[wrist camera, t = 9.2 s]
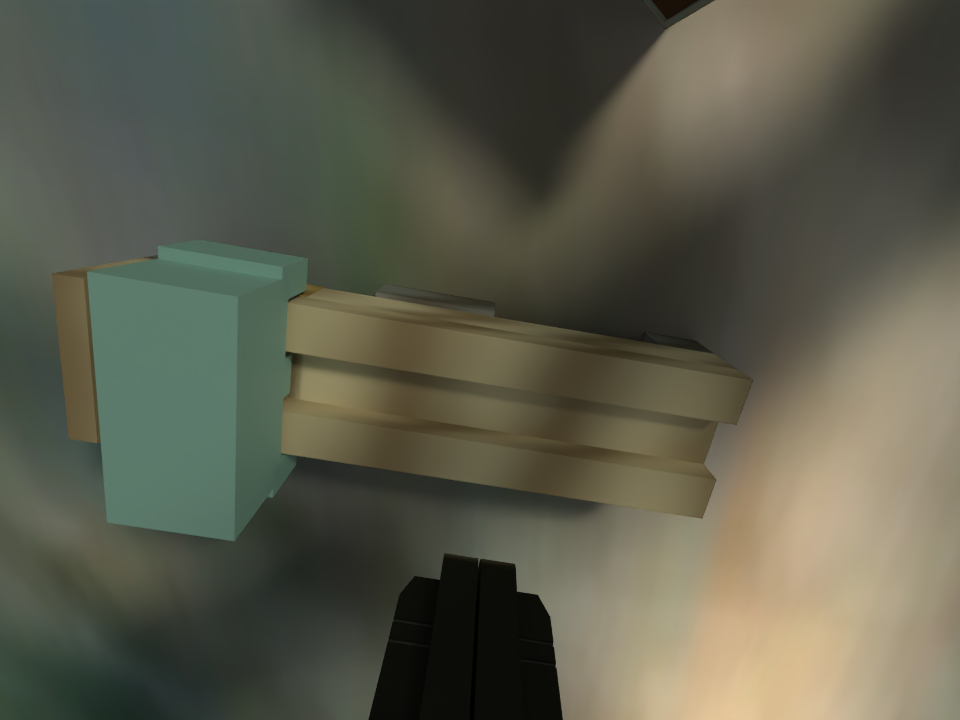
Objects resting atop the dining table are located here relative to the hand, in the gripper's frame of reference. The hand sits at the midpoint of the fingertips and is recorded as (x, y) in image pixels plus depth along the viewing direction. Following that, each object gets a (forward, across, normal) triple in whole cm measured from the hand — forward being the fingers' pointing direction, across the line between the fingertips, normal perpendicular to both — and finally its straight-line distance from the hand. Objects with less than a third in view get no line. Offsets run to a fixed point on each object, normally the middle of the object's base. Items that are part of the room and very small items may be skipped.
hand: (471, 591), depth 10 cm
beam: (+14, +3, 0) cm, 14 cm away
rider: (+10, +9, 0) cm, 14 cm away
